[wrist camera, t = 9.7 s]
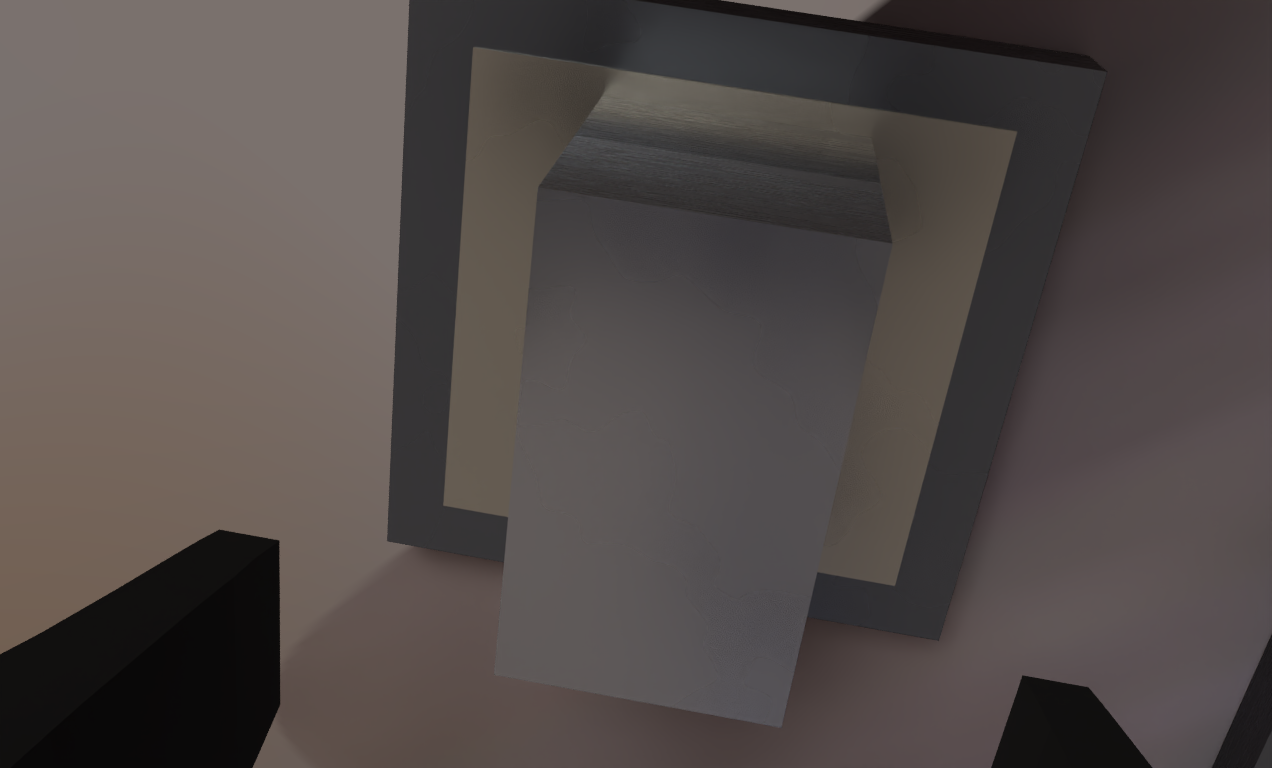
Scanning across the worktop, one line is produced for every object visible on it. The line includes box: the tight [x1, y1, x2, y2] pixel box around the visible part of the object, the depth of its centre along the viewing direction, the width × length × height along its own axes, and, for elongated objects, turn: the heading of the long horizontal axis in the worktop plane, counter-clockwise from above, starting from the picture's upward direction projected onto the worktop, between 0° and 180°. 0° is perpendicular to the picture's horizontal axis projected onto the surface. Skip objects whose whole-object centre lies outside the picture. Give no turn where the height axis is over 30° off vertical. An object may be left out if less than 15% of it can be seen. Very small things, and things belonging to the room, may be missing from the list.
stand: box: [387, 0, 1107, 641], centre depth 20 cm, size 10×10×1 cm
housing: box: [494, 96, 893, 728], centre depth 17 cm, size 7×4×5 cm, turn 173°
